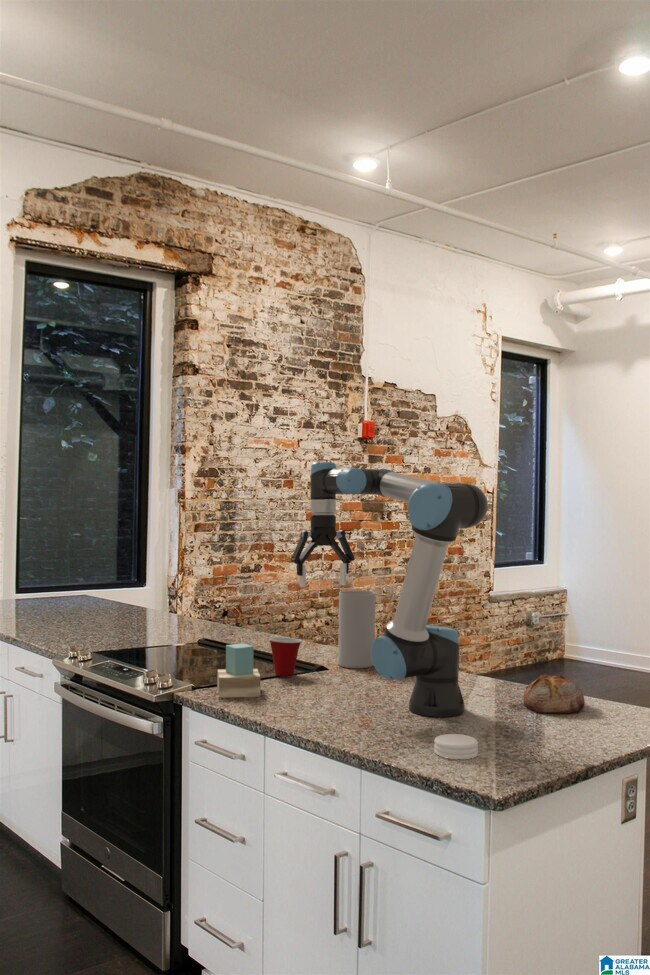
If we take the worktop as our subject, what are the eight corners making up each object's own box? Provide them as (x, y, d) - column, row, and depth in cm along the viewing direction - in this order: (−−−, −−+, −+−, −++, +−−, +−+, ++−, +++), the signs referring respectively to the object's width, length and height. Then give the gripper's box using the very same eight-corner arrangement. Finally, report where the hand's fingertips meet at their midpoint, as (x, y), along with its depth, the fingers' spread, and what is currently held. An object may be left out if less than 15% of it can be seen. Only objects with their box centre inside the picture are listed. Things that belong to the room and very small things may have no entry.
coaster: (438, 746, 208) (438, 731, 208) (480, 750, 205) (480, 735, 205) (430, 758, 199) (430, 742, 199) (474, 763, 196) (474, 747, 196)
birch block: (260, 697, 255) (260, 676, 255) (218, 698, 253) (218, 677, 253) (257, 688, 267) (257, 668, 267) (217, 689, 265) (217, 669, 265)
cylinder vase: (366, 661, 310) (367, 590, 310) (379, 668, 298) (380, 594, 298) (333, 662, 306) (334, 591, 306) (345, 669, 294) (346, 595, 294)
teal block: (253, 673, 259) (253, 646, 259) (235, 675, 256) (235, 648, 256) (243, 669, 264) (243, 643, 264) (225, 672, 261) (225, 645, 261)
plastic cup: (308, 675, 285) (309, 638, 285) (285, 680, 277) (285, 642, 277) (284, 670, 292) (285, 634, 292) (261, 675, 284) (261, 638, 284)
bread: (513, 714, 243) (511, 677, 244) (539, 700, 259) (538, 666, 260) (571, 719, 234) (569, 682, 234) (594, 705, 250) (592, 669, 250)
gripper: (353, 513, 269) (353, 583, 269) (279, 514, 258) (279, 586, 257) (365, 514, 263) (365, 585, 262) (290, 514, 251) (290, 588, 251)
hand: (323, 586), depth 260 cm, fingers open, 13 cm apart
